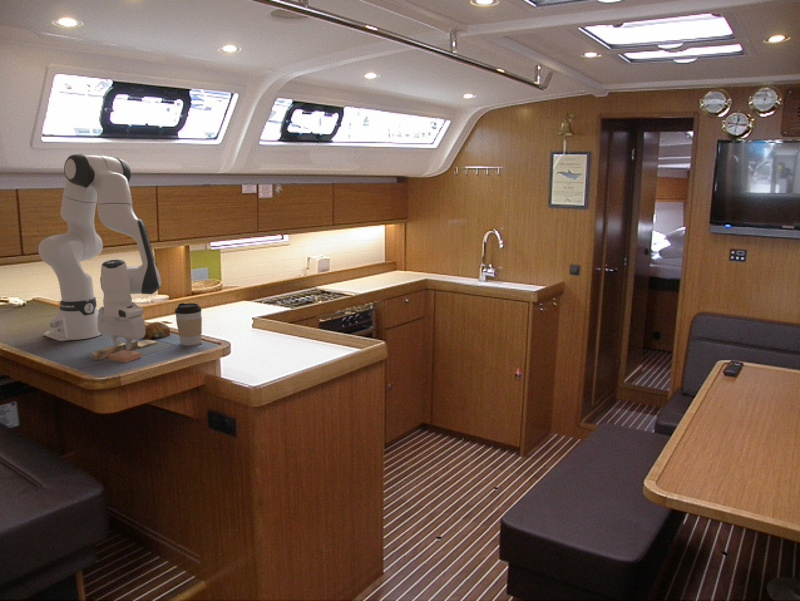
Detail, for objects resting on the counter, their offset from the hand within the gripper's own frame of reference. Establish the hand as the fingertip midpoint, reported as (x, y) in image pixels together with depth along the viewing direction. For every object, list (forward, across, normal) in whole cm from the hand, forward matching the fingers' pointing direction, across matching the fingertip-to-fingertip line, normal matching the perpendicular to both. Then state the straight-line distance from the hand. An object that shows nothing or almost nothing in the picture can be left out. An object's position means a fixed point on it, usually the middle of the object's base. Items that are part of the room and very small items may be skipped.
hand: (123, 348), depth 219 cm
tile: (0, +4, -6) cm, 7 cm away
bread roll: (+2, -7, +19) cm, 21 cm away
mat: (+2, +3, +2) cm, 4 cm away
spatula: (+1, 0, +1) cm, 1 cm away
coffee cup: (+2, +13, +18) cm, 22 cm away
